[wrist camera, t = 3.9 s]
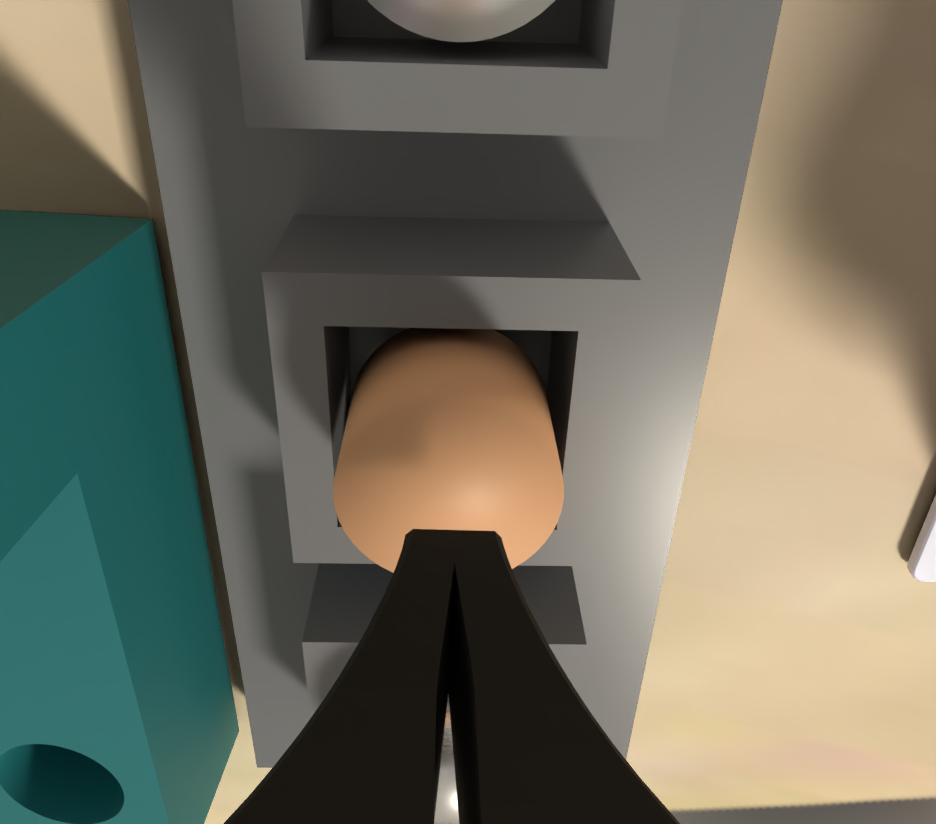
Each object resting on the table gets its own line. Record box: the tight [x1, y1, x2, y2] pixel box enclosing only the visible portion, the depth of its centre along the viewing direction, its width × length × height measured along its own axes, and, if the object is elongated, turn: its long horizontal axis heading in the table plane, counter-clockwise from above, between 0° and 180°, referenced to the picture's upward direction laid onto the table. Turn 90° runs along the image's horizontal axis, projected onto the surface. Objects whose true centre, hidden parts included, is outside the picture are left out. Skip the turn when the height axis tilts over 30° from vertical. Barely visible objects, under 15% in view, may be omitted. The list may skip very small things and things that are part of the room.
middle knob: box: [333, 328, 564, 573], centre depth 15 cm, size 4×4×3 cm
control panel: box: [128, 0, 783, 767], centre depth 18 cm, size 12×30×5 cm, turn 178°
